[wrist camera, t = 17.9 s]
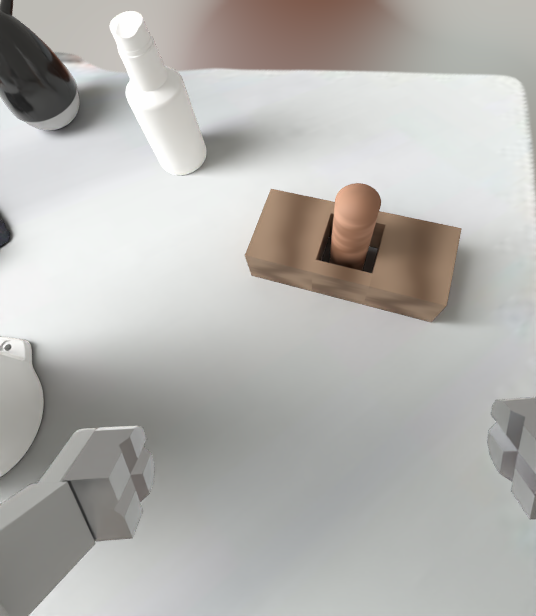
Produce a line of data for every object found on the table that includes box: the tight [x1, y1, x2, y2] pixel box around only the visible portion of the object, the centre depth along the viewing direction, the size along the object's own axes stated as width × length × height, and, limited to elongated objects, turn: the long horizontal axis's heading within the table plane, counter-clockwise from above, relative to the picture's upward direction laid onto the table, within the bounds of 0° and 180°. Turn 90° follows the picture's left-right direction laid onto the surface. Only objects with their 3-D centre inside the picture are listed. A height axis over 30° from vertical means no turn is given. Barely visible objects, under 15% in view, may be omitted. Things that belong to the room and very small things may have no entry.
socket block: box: [245, 189, 461, 322], centre depth 43 cm, size 21×9×5 cm, turn 72°
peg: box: [329, 183, 381, 271], centre depth 39 cm, size 4×4×12 cm
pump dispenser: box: [0, 0, 80, 130], centre depth 52 cm, size 10×10×15 cm
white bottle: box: [110, 11, 207, 175], centre depth 45 cm, size 7×7×18 cm
